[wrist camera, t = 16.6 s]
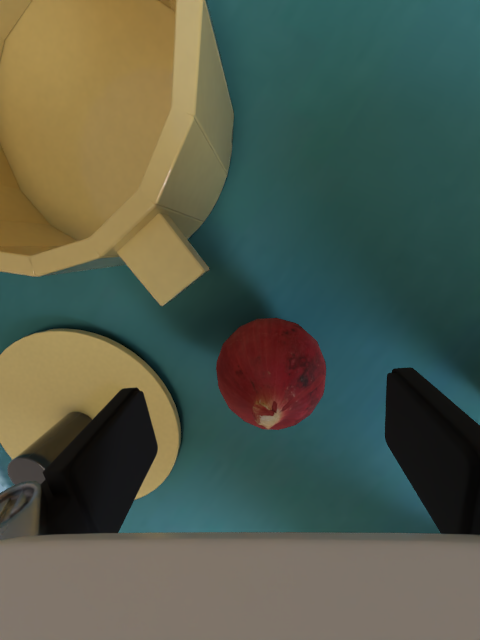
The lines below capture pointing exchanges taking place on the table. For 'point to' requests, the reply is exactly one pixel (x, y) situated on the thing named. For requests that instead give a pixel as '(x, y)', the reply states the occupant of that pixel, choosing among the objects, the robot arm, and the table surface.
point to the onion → (271, 373)
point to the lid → (75, 399)
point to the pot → (110, 137)
